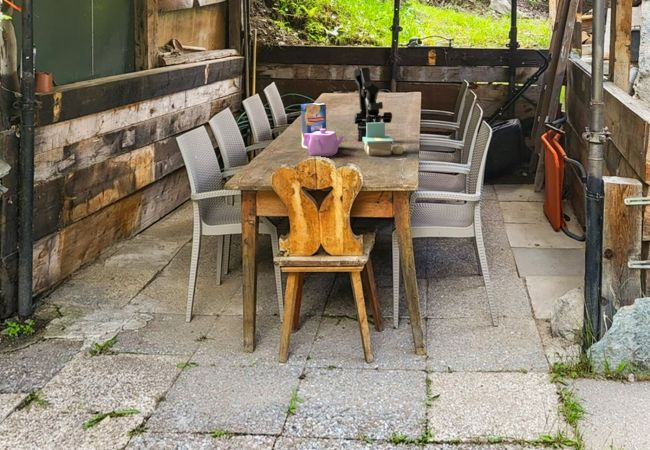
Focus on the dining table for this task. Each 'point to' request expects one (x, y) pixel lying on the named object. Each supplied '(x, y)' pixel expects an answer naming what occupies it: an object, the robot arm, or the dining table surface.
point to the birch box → (378, 148)
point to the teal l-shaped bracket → (376, 134)
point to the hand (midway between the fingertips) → (375, 131)
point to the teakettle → (322, 143)
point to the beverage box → (312, 118)
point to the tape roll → (397, 149)
